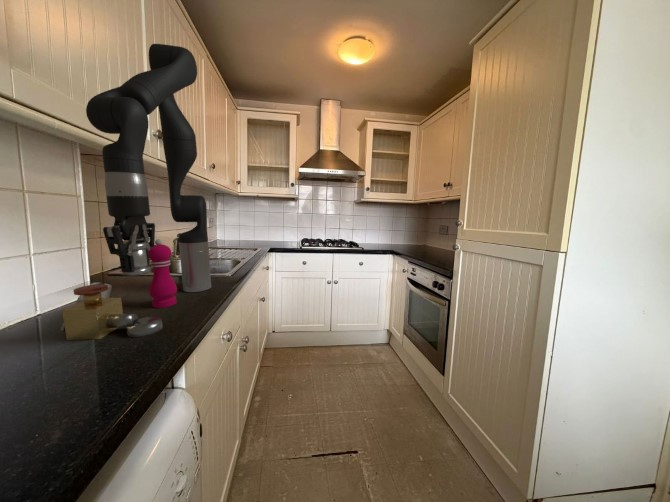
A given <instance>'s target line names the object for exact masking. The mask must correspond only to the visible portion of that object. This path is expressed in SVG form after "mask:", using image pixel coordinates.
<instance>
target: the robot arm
mask: <svg viewBox="0 0 670 502" xmlns="http://www.w3.org/2000/svg"><path fill="white" fill-rule="evenodd" d="M148 63H149V68H150V70H145V71H142V72H140V73H137V74H135V75H133V76H132V77H131V78H129V79H128V80H125V82H123V84H122V85H119V86H117V87H115V88H111V89H109V90H106V91H102V92H100V93H98V94H96V95H94V96H93V97H91V98H90V99H89V101H88V102H87V104H86V107H85V112H86V117H87V119H88V121H89V123H90V124H91V125H92V126H93V127H94V128H95V130H98V131H99V132H101V133H104V134H111V135H113V134H114V135H115V134H116V135H117V134H118V139H117V140H116V141H114V142H112V143H107V144H106V145H104V146H103V147H102V149H101V150H102V154H101V155H102V161H103V169H104V170H103V171H104V188H105V196H106V204H107V211H108V215H109V216H110V217H112V218H114V223H113V225H112V226H104V227H103V228H102V231H103V235H104V238H105V242H106V244H107V247H108V251H109V254H110V255H117V256H118V257H119V265H120V269H121V270H120V271H121V272H122V273H123V272H124V273H126V272H133V271H134V266H133V257H132V248H133V246H134V245H135V244H136V242H147V246H148V248H146V255H147V264H148V266H151V263H150V262H151V261H150V260H151V259H149V250H150V248H151V247H154V245H156V244H155V241H156V240H155V239H156V238H155V237H156V233H155V232H156V225H155V224H156V223H154V222H148V221H147V220H146V217H149V216H150V215H151V209H150V199H149V191H148V190H149V189H148V184H147V179H146V174H145V173H146V172H145V165H144V159H143V158H144V151H145V148H146V147H145V146H146V141H147V137H148V136H147V135H148V132H149V117H148V116H149V115H150V114H152V113H154V111H155V110H156V109H157V108H158V114H159V120H160V128H161V129H160V130H161V137H162V138H161V139H162V146H163V153H164V158H165V163H166V170H167V177H168V190H169V191H168V192H169V206H170V214H171V218H172V220H173V221H175V222H176V223H196V225H195V227H193V228H191V229H190V230H187V231H183V232H181V233H180V234H178V236H177V237H178V249H179V258H180V259H179V261H180V271H181V282H182V291H183V292H185V293H197V292H199V293H200V292H203V291H207V290H210V289H211V288H212V278H211V277H212V275H211V268H210V267H211V264H210V263H211V262H210V250H209V237H208V236H209V235H208V225H207V224H208V223H207V222H208V221H207V220H208V219H207V216H208V213H207V212H208V211H207V201H206V198H205V197H204V196H203V195H195V194H193V195H192V194H189V195H188V194H186V195H185V194H184V195H182V194H181V189H182V185H183V183H184V180H185V178H186V177H187V175H188V173H189V171H191V169H192V167H193V165H194V164H195V161H196V160H197V157H198V151H197V150H198V149H197V139H196V133H195V131H194V129H193V127H192V125H191V124H190V122H189V121H188V119H187V118H186V116H185V115H184V113H183V112H182V110H181V109H180V107H179V104H177V102H176V98H175V95H174V94H176V93H177V92H180V91H181V90H183V89H185V88H186V87H189V86H191V85H193V84H194V83H195V82H196V80H197V78H198V77H197V76H198V66H197V65H198V64H197V62H196V58H195V57H194V55H193V53H192V52H191V51H190V50H189V49H188V48H186V47H183V46H178V45H170V44H165V43H164V44H163V43H152V44H150V46H149V48H148ZM124 245H127V248H126V250H125V246H124ZM116 246H117V248H116Z"/></svg>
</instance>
